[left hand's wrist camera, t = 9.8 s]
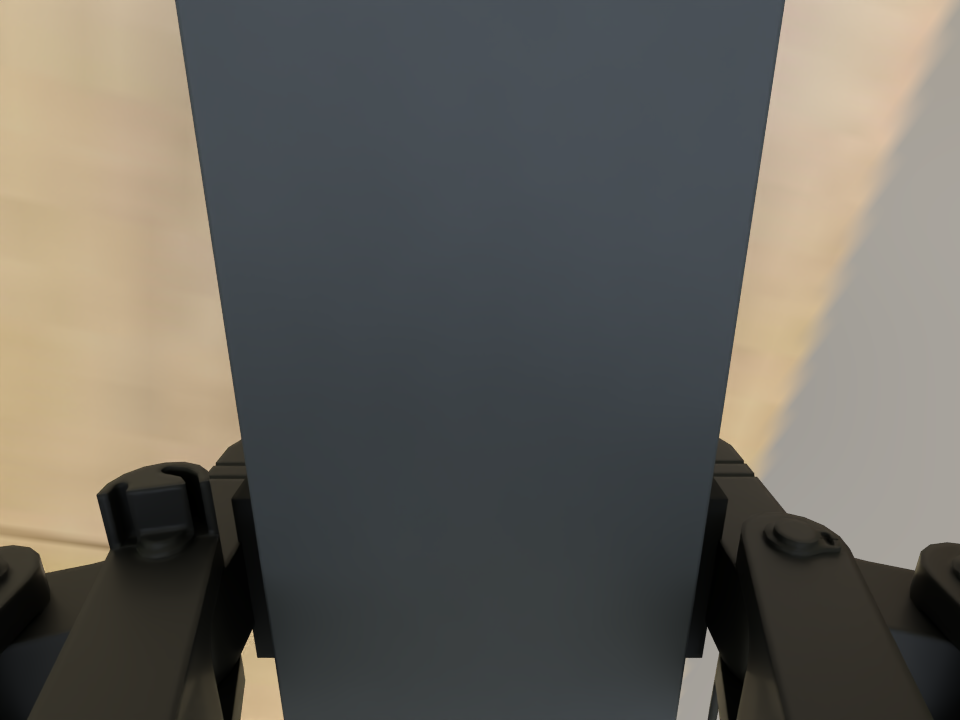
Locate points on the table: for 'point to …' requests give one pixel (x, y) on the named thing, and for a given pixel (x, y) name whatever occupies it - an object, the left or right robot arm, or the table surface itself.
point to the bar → (480, 333)
